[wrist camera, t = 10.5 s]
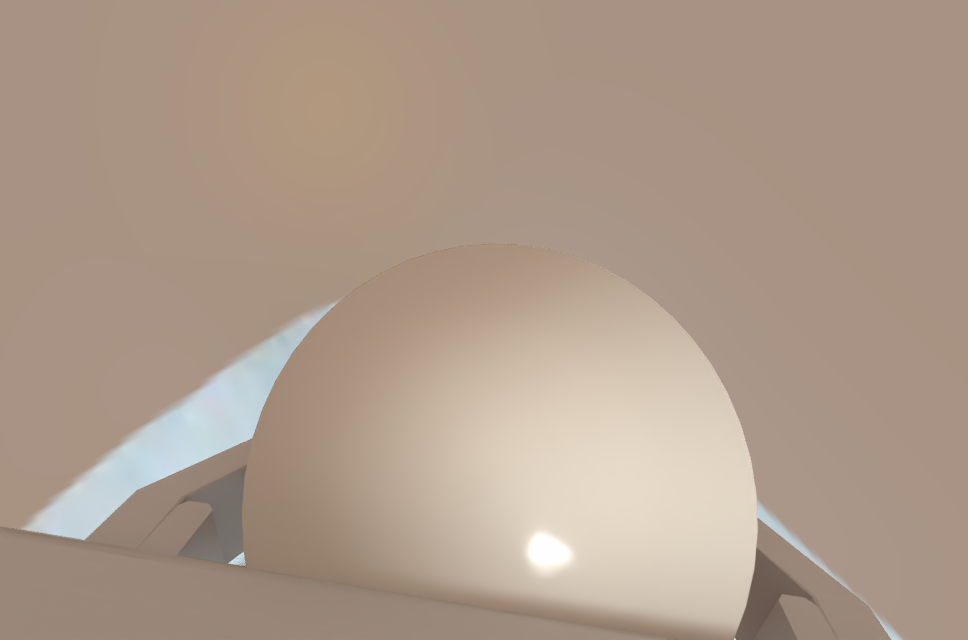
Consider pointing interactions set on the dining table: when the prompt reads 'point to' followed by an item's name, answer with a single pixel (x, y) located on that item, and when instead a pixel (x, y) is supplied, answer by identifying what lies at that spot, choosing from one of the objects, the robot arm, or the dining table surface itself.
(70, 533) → the dining table surface
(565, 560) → the jar
